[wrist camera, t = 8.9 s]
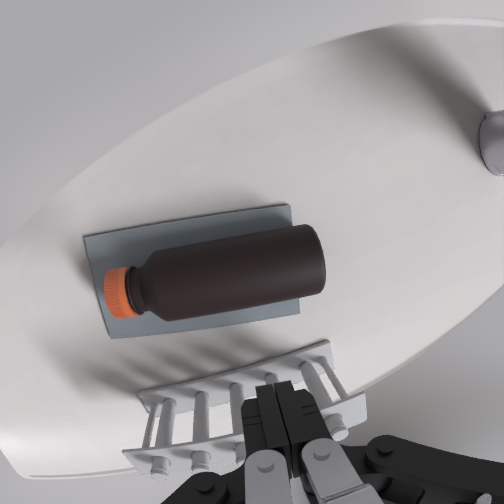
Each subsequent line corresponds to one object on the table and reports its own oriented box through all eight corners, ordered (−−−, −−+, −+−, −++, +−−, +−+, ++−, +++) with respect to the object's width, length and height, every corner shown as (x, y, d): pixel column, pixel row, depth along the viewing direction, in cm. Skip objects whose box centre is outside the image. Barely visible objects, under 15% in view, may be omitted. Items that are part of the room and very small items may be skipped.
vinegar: (320, 222, 25) (92, 264, 23) (331, 299, 25) (110, 337, 24) (300, 224, 32) (118, 257, 30) (310, 286, 32) (131, 318, 31)
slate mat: (289, 204, 31) (290, 205, 30) (298, 311, 33) (300, 313, 33) (86, 236, 29) (84, 237, 28) (112, 336, 31) (111, 338, 31)
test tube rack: (153, 414, 35) (138, 489, 22) (138, 390, 34) (116, 466, 21) (333, 366, 36) (376, 433, 23) (328, 339, 35) (375, 405, 22)
